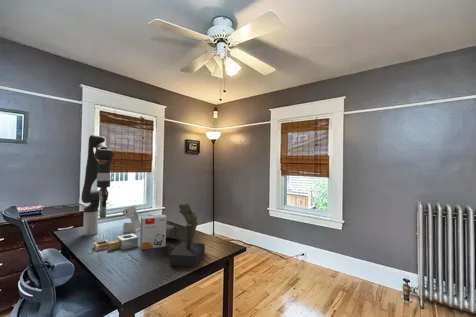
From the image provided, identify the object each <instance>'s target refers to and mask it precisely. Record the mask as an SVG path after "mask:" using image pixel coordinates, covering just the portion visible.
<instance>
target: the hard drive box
mask: <svg viewBox="0 0 476 317" xmlns="http://www.w3.org/2000/svg"><path fill="white" fill-rule="evenodd" d="M140 223H141V229H140V230H139V231H140V234H139V237H140V238H139V240H140V241H139V248H140V250H141V251H142V250H149V249H156V248H158V249H159V248H163V247H164V248H165V247H166V244H167V243H166V240H167V239H166V225H167V215H166V214H156V215H155V214H153V215H142V216H140Z"/></svg>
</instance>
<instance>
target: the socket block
mask: <svg viewBox="0 0 476 317" xmlns="http://www.w3.org/2000/svg"><path fill="white" fill-rule="evenodd" d="M118 240H120V248H119V249H120V250H121V251H123V250H128V249H132V248H136V247H139V236H137V235H136V234H135V233H129V234H123V235H119V236H116V241H118Z"/></svg>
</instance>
